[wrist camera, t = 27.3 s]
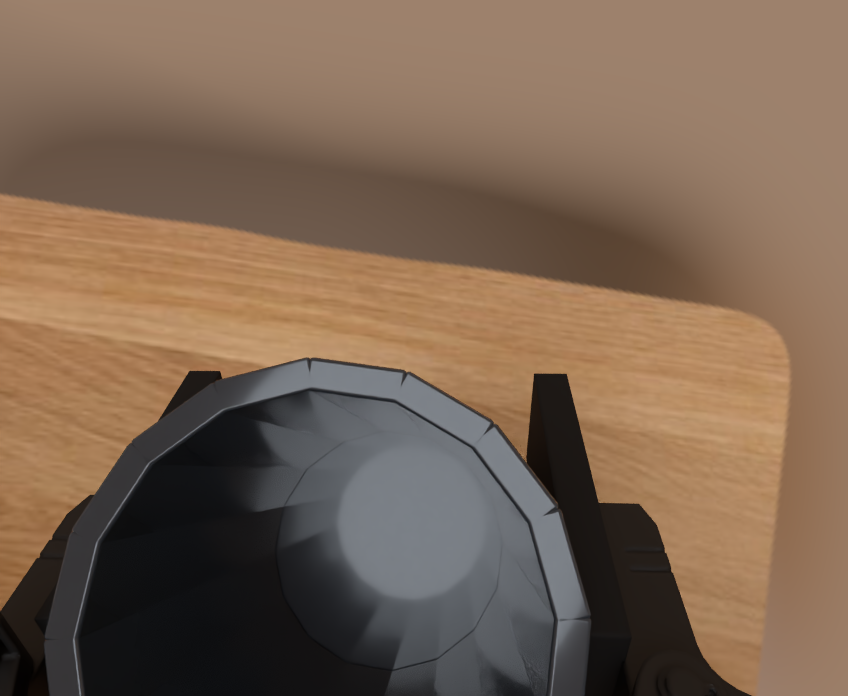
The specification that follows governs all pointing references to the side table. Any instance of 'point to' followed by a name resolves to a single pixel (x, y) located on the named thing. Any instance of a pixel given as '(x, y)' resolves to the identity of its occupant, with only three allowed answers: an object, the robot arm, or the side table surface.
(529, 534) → the slate cup
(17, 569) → the side table surface
